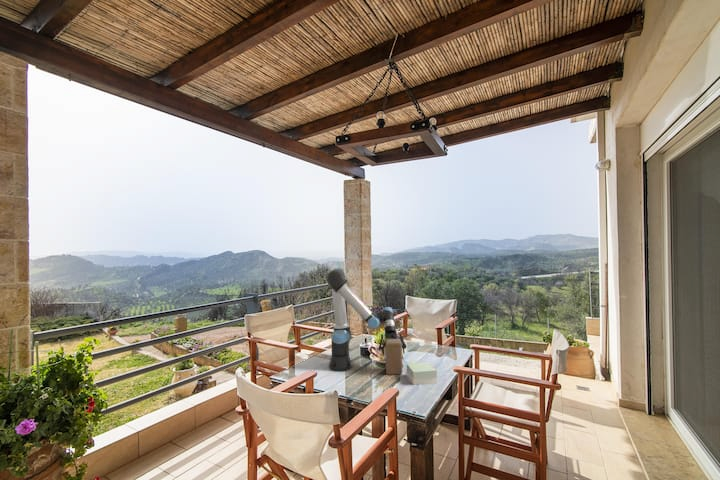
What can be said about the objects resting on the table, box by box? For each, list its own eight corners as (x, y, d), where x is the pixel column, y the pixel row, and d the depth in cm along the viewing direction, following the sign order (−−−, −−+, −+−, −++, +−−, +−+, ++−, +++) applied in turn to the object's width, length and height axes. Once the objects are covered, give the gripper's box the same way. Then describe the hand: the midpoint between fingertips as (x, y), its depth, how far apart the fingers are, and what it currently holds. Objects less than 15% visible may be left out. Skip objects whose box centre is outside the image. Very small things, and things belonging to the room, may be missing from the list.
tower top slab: (413, 379, 187) (413, 372, 188) (406, 370, 201) (406, 363, 201) (436, 377, 190) (436, 370, 190) (428, 368, 203) (428, 362, 203)
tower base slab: (413, 385, 188) (413, 378, 188) (406, 376, 201) (406, 370, 202) (436, 384, 190) (436, 377, 190) (427, 374, 204) (427, 368, 204)
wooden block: (402, 375, 202) (401, 342, 203) (386, 375, 203) (386, 342, 203) (400, 369, 212) (400, 338, 213) (385, 369, 213) (385, 338, 213)
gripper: (405, 330, 225) (411, 360, 209) (372, 331, 223) (375, 362, 207) (407, 324, 220) (413, 355, 204) (373, 325, 218) (376, 356, 202)
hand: (394, 358), depth 206 cm, fingers closed on wooden block, 11 cm apart
